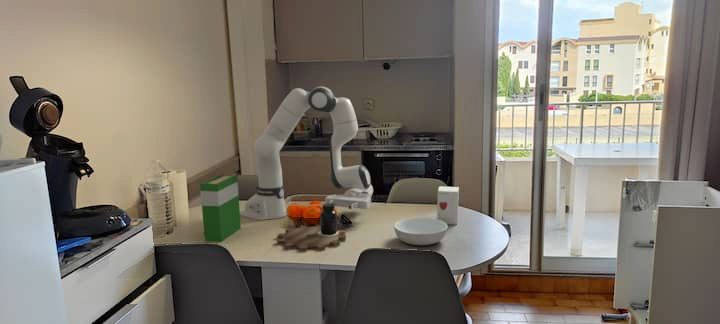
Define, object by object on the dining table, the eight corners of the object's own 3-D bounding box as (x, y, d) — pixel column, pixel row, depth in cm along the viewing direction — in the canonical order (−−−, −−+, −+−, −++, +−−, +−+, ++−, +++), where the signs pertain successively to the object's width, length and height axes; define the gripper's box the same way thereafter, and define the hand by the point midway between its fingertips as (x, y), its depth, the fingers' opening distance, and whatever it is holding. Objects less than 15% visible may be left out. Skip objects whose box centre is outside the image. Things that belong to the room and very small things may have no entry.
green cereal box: (225, 227, 217) (221, 174, 212) (240, 228, 215) (237, 174, 211) (204, 241, 200) (200, 183, 195) (221, 242, 198) (217, 184, 194)
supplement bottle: (317, 234, 200) (316, 205, 198) (326, 229, 206) (325, 201, 204) (331, 236, 197) (331, 207, 195) (340, 231, 203) (339, 203, 201)
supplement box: (436, 223, 216) (436, 190, 213) (438, 217, 225) (438, 185, 222) (457, 224, 214) (458, 191, 211) (458, 218, 223) (459, 186, 220)
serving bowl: (412, 229, 209) (412, 214, 208) (456, 239, 196) (457, 223, 195) (383, 243, 194) (383, 226, 192) (429, 255, 181) (429, 237, 179)
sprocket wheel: (263, 246, 193) (263, 242, 192) (299, 225, 218) (299, 221, 217) (326, 255, 182) (326, 251, 181) (356, 232, 207) (356, 228, 206)
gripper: (332, 189, 227) (318, 197, 215) (373, 193, 219) (361, 201, 207) (333, 202, 228) (319, 210, 216) (374, 206, 220) (361, 215, 208)
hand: (340, 206), depth 211 cm, fingers open, 8 cm apart
